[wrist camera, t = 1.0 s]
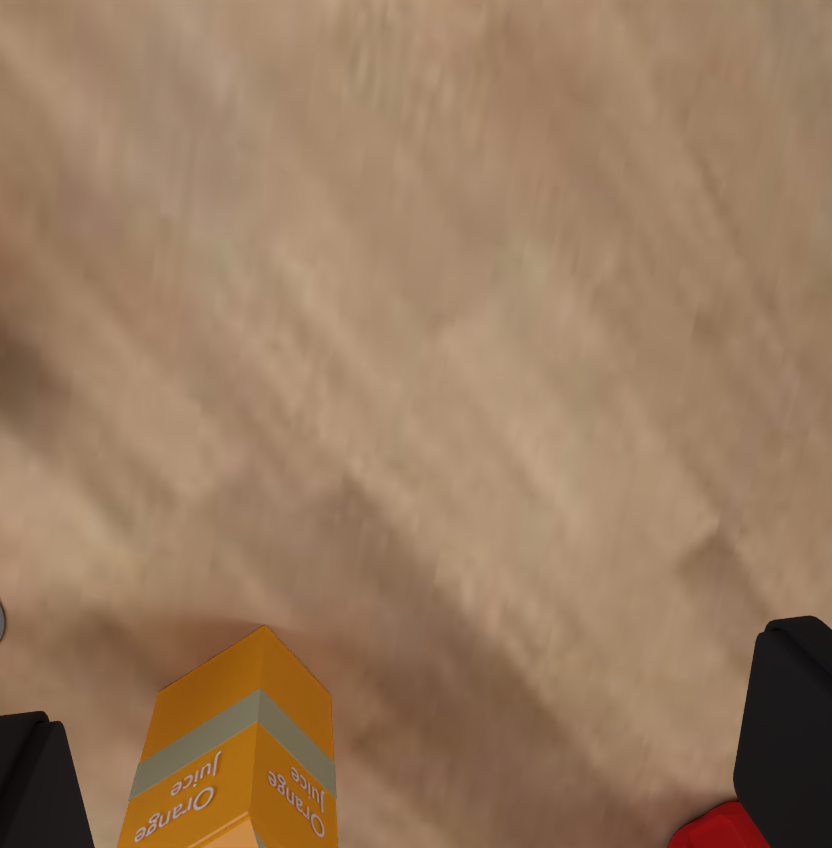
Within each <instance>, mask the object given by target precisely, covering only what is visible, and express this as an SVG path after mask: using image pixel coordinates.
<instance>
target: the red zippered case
mask: <svg viewBox="0 0 832 848" xmlns="http://www.w3.org/2000/svg"><path fill="white" fill-rule="evenodd" d="M667 848H771V847H770V846H769V844H768V843H767V841H766V840H765V839H764V837H763V836H762V834H761V833H760V831H759V830H758V828H757V827H756V825H755V824H754V822H753V821H752V820H751V818H750V817H749V815H748V814H747V812H746V811H745V809H744V808H743V806H742V805H741V803H740V802H726V803H724V804H722V805H720V806H718V807H716V808H714V809H712V810H711V811H709V812H708V813H706V814H705V815H703V816H702V817H701V818H699V819H697V820H695V821H693V822H691V823H689V824H687V825H685V826H684V827H682V828H681V829H679V830H677V831H676V833H675V834H674V836H673V837H672V839H671V841H670V843H669V845H668V847H667Z"/></svg>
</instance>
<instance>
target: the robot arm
mask: <svg viewBox="0 0 832 848" xmlns="http://www.w3.org/2000/svg"><path fill="white" fill-rule="evenodd" d="M733 782H734V788H735V791H736V794H737V797H738V799H739V801H740V803H741V805H742V806H743V808H744V809H745V811H746V812H747V814H748V815H749V817H750V818H751V820H752V821H753V822H754V824H755V825H756V827H757V828H758V830H759V831H760V833H761V834H762V836H763V837H764V839H765V840H766V841H767V843H768V844H769V846H770V847H771V848H832V630H831V629H830V628H829V627H828V626H827V625H826V624H825V623H823V622H822V621H821V620H819V619H818V618H816V617H814V616H801V617H793V618H785V619H777V620H773V621H770V622H769V623H768V624H767V625H766V628H765V631H764V632H762V633H760V634H759V635H758V636H757V639H756V643H755V649H754V655H753V661H752V667H751V673H750V678H749V684H748V690H747V696H746V702H745V708H744V714H743V720H742V726H741V732H740V738H739V744H738V750H737V756H736V762H735V768H734V774H733ZM0 848H95V847H94V843H93V839H92V835H91V831H90V827H89V823H88V819H87V815H86V812H85V808H84V804H83V800H82V796H81V792H80V788H79V784H78V780H77V776H76V772H75V768H74V764H73V760H72V756H71V752H70V748H69V744H68V740H67V736H66V732H65V729H64V726H63V724H62V723H61V722H60V721H54V722H50V721H49V718H48V716H47V715H46V713H45V712H44V711H35V712H27V713H19V714H11V715H3V716H0Z"/></svg>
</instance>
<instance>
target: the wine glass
mask: <svg viewBox="0 0 832 848" xmlns="http://www.w3.org/2000/svg"><path fill="white" fill-rule="evenodd" d="M4 628H5V616H4V612H3V609H2V607H1V604H0V640H1V638H2V636H3V633H4Z"/></svg>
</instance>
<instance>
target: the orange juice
mask: <svg viewBox="0 0 832 848" xmlns="http://www.w3.org/2000/svg"><path fill="white" fill-rule="evenodd" d="M336 799H337V796H336V776H335V763H334V753H333V732H332V711H331V695H330V694H329V693H328V692H327V691H326V690H325V689H324V687H323V686H322V685H321V684H320V683H319V682H318V681H317V680H316V679H315V678H314V677H313V676H312V674H311V673H310V672H309V671H308V670H307V669H306V668H305V667H304V666H303V665H302V664H301V663H300V662H299V660H298V659H297V658H296V657H295V656H294V655H293V654H292V653H291V652H290V651H289V650H288V649H287V648H286V646H285V645H284V644H283V643H282V642H281V641H280V640H279V639H278V638H277V637H276V636H275V635H274V633H273V632H272V631H271V630H270V629H269V628H268V627H267V626H266V625H264V626H263V627H261V628H259V629H258V630H256V631H255V632H253V633H252V634H250V635H248V636H247V637H245V638H244V639H242V640H240V641H239V642H237V643H236V644H234V645H233V646H231V647H229V648H228V649H226V650H225V651H223V652H222V653H220V654H218V655H217V656H215V657H214V658H212V659H210V660H209V661H207V662H206V663H204V664H203V665H201V666H199V667H198V668H196V669H195V670H193V671H191V672H190V673H188V674H187V675H185V676H184V677H182V678H180V679H179V680H177V681H176V682H174V683H173V684H171V685H169V686H168V687H166V688H165V689H163V690H161V691H160V692H158V696H157V700H156V703H155V707H154V711H153V715H152V718H151V722H150V726H149V730H148V733H147V737H146V741H145V744H144V748H143V752H142V756H141V759H140V763H139V764H138V767H137V770H136V774H135V778H134V782H133V785H132V789H131V793H130V796H129V800H128V801H129V804H128V808H127V812H126V815H125V819H124V823H123V826H122V830H121V834H120V838H119V841H118V845H117V848H338V838H337V817H336Z"/></svg>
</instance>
